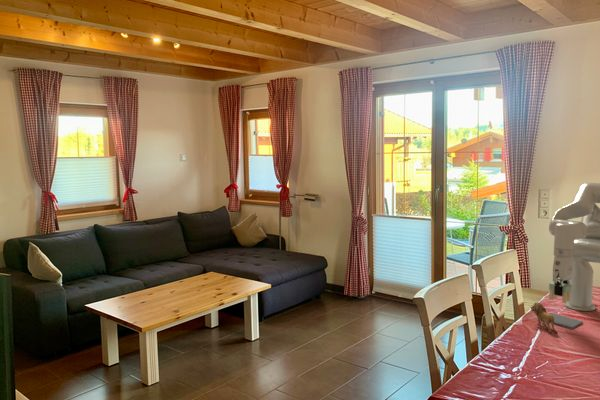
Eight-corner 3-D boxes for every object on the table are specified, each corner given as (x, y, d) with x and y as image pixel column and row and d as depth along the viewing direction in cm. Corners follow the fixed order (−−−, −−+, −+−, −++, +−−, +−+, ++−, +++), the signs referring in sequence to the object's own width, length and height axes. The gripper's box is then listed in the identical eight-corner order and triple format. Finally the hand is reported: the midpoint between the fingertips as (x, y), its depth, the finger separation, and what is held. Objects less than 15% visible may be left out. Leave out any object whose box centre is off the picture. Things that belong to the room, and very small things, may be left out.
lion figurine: (527, 321, 207) (528, 301, 206) (538, 320, 208) (539, 300, 207) (552, 335, 193) (553, 313, 191) (563, 333, 194) (564, 312, 192)
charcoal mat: (549, 314, 215) (549, 312, 215) (582, 323, 204) (583, 321, 204) (538, 319, 209) (538, 317, 209) (571, 329, 198) (572, 327, 198)
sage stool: (570, 300, 204) (571, 284, 204) (565, 303, 201) (566, 287, 201) (554, 296, 210) (554, 281, 209) (548, 299, 207) (549, 283, 206)
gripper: (563, 256, 195) (560, 300, 197) (582, 251, 205) (579, 292, 207) (544, 253, 201) (542, 295, 203) (564, 248, 211) (561, 288, 213)
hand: (561, 293), depth 205 cm, fingers closed on sage stool, 5 cm apart
